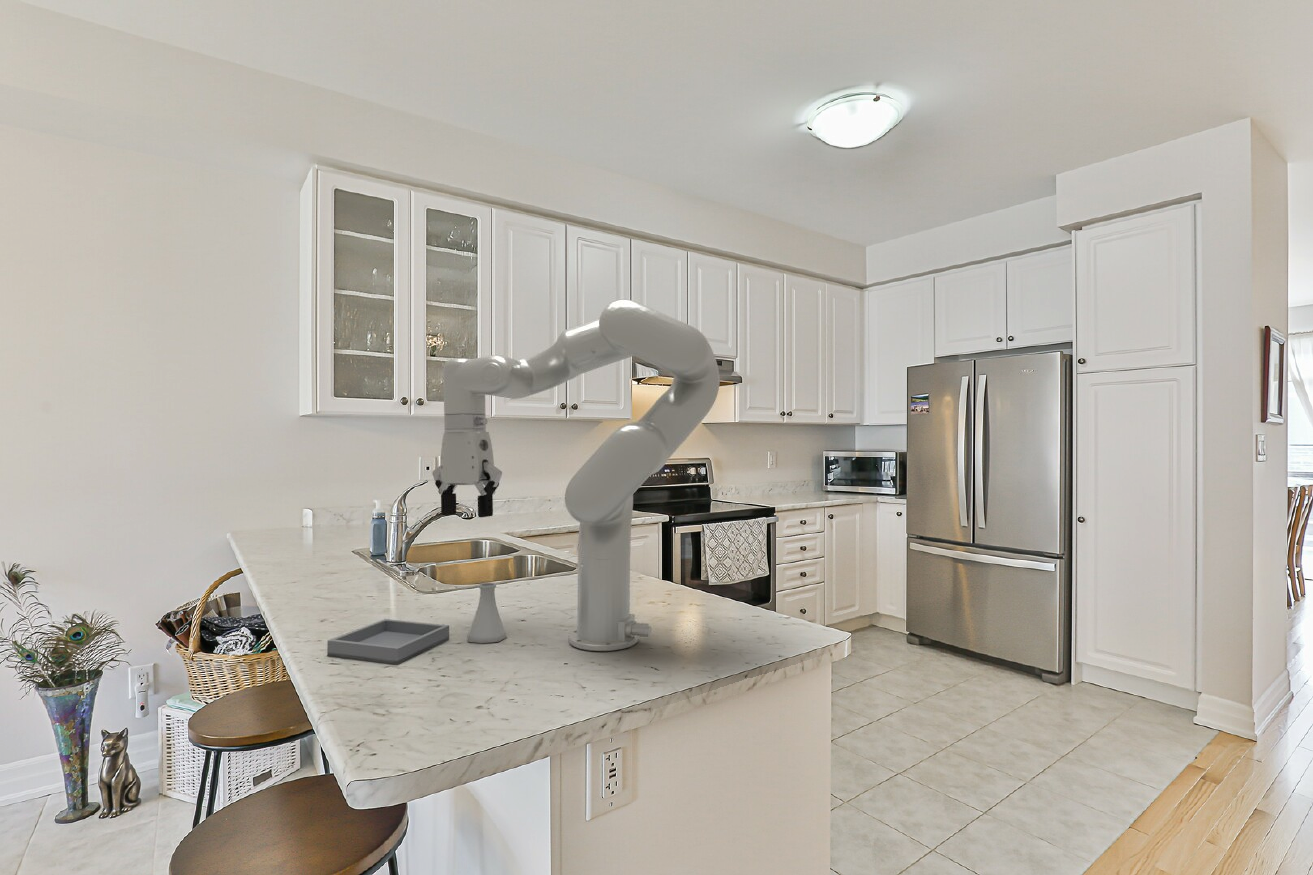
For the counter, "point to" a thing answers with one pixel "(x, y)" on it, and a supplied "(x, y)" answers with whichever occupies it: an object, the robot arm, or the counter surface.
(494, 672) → the counter surface
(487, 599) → the flask
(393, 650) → the tray
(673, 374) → the robot arm
